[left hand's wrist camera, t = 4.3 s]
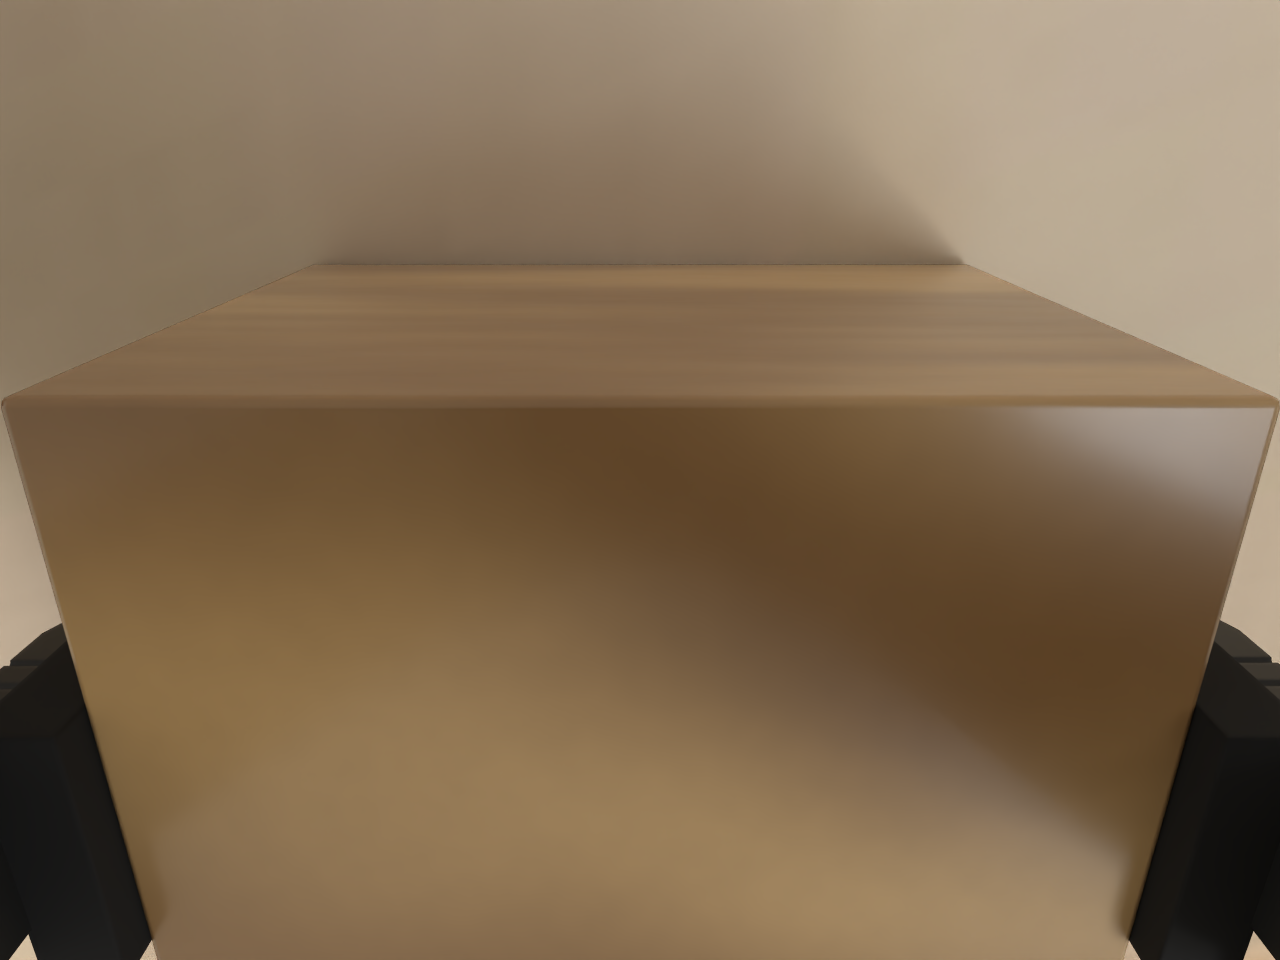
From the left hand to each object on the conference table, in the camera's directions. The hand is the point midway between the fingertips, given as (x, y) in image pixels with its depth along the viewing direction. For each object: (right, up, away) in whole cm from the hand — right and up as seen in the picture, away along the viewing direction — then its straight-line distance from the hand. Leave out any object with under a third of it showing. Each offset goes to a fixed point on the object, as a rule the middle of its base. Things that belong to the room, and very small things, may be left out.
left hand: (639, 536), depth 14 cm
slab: (0, -30, +13) cm, 33 cm away
